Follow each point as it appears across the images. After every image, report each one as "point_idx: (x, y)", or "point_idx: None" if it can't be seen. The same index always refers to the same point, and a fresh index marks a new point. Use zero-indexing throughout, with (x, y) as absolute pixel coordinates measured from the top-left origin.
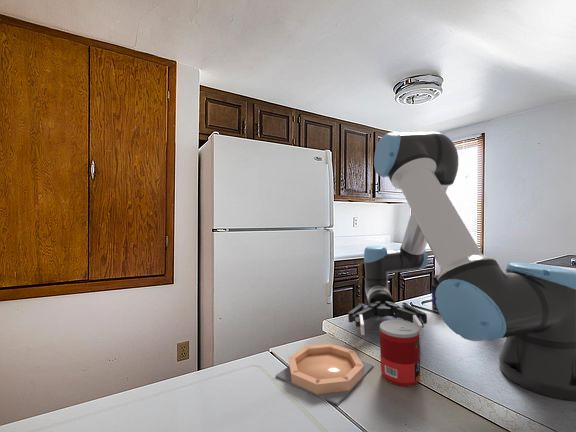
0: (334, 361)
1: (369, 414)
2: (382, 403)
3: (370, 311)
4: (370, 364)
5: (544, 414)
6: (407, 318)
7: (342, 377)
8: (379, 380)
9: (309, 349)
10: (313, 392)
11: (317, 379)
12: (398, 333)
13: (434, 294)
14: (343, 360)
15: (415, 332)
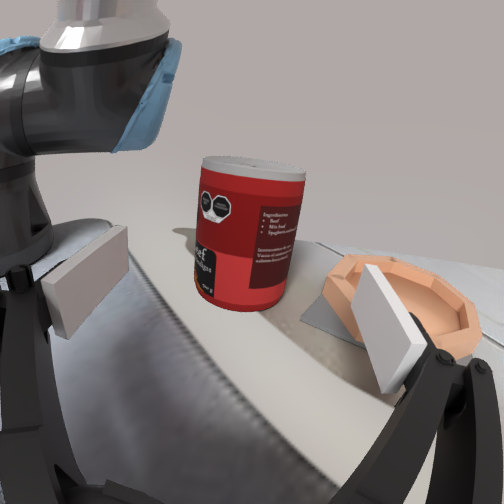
0: None
1: (307, 249)
2: None
3: (364, 471)
4: (309, 319)
5: (88, 224)
6: (50, 369)
7: (360, 259)
8: (288, 287)
9: (467, 329)
10: None
11: (395, 262)
12: (263, 163)
13: None
14: None
15: (224, 156)
